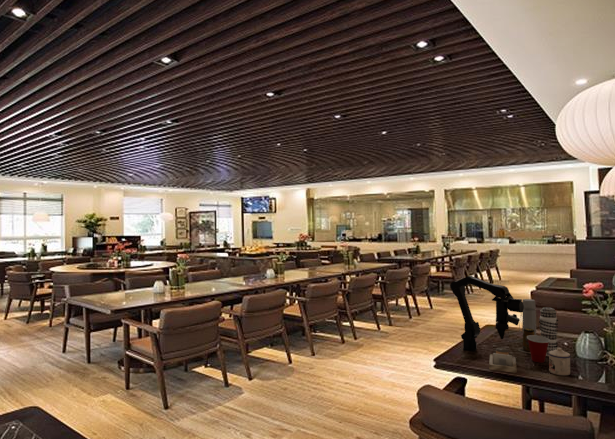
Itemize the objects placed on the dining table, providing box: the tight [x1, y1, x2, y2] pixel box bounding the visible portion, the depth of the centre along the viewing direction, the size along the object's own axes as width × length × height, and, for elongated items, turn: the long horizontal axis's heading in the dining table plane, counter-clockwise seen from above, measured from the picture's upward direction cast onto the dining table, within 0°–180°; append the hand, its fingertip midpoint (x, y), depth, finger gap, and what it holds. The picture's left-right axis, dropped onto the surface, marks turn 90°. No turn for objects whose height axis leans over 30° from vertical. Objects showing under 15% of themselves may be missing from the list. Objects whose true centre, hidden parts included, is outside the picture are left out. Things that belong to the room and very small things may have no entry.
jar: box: [495, 347, 510, 355], centre depth 225 cm, size 6×6×6 cm
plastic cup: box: [527, 334, 550, 364], centre depth 224 cm, size 11×11×12 cm
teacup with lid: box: [548, 347, 571, 376], centre depth 205 cm, size 12×9×12 cm
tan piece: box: [488, 353, 518, 374], centre depth 217 cm, size 12×18×2 cm
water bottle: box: [518, 298, 537, 335], centre depth 261 cm, size 9×8×25 cm
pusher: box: [492, 352, 513, 367], centre depth 217 cm, size 8×3×5 cm, turn 66°
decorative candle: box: [538, 306, 559, 357], centre depth 235 cm, size 9×9×25 cm
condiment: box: [518, 328, 534, 354], centre depth 242 cm, size 7×8×12 cm
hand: (502, 339), depth 232 cm, fingers closed
